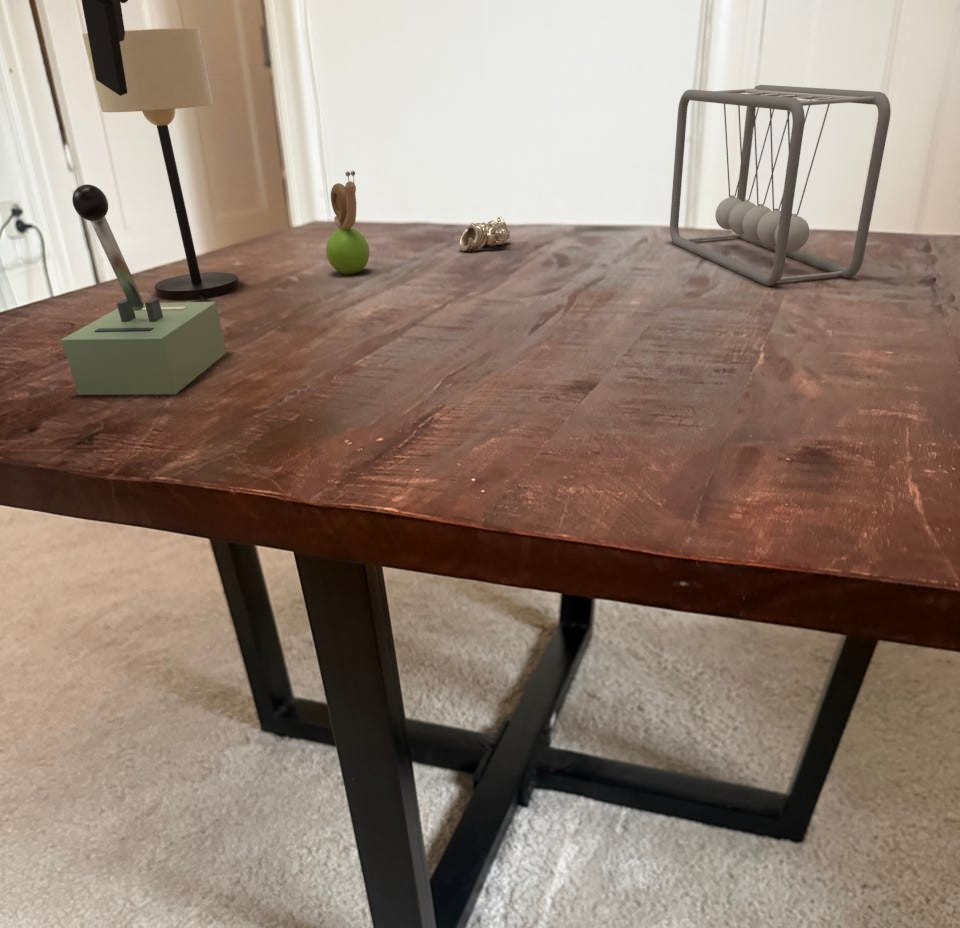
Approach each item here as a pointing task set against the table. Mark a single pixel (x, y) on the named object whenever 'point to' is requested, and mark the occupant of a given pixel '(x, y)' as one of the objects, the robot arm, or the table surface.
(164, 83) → the desk lamp
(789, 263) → the table surface
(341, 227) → the snail figurine
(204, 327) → the switch box
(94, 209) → the toggle lever
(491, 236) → the ornament
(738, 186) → the newton's cradle
